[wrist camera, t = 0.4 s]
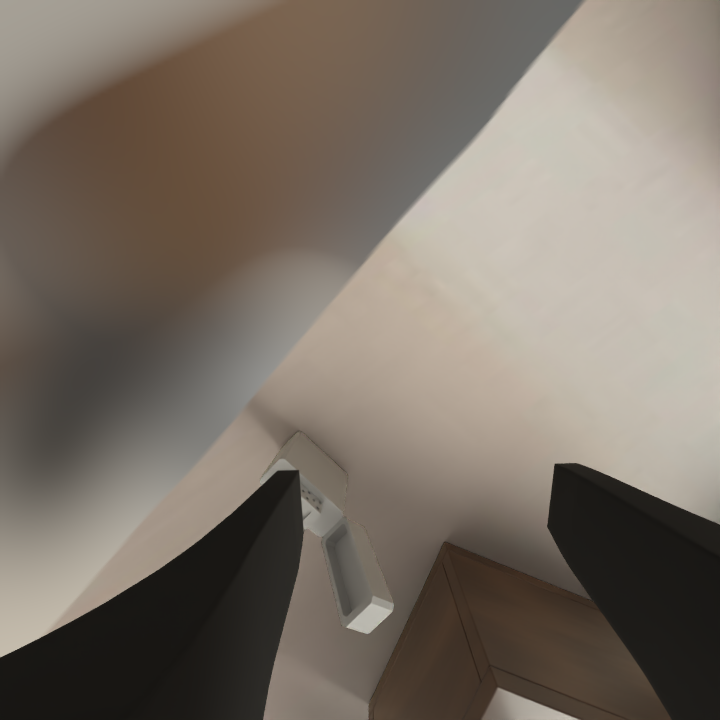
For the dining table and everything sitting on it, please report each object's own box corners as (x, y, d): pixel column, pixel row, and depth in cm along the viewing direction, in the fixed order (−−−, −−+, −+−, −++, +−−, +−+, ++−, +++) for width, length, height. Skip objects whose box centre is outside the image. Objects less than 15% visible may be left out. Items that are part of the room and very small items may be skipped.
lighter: (279, 449, 21) (226, 526, 13) (299, 429, 21) (257, 494, 13) (365, 528, 21) (365, 650, 13) (385, 509, 21) (396, 620, 13)
